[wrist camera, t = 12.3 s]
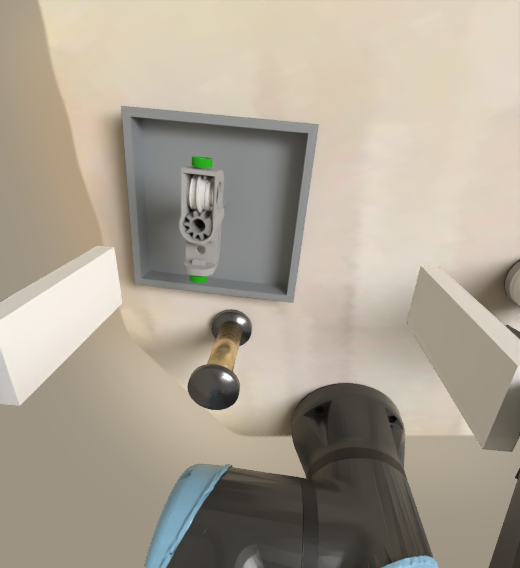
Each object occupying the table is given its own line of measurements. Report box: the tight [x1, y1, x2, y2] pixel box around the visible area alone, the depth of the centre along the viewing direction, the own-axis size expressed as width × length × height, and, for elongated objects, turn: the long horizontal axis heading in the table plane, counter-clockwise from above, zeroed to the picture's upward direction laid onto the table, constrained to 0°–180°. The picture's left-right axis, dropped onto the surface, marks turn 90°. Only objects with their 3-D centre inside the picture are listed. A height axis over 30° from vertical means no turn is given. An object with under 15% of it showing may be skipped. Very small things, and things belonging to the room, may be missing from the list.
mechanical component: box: [179, 156, 227, 283], centre depth 32 cm, size 3×10×10 cm, turn 174°
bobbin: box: [188, 310, 252, 410], centre depth 38 cm, size 5×5×12 cm
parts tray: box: [121, 106, 319, 303], centre depth 36 cm, size 18×18×3 cm
